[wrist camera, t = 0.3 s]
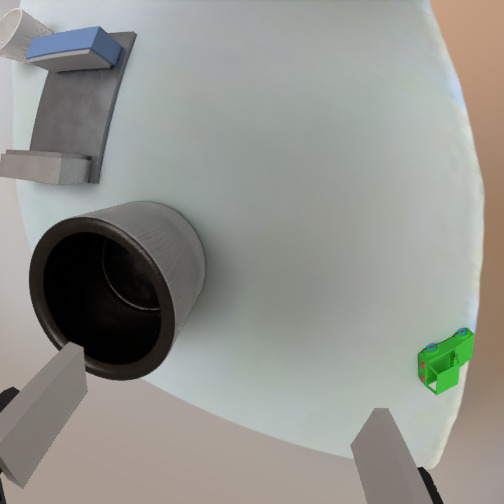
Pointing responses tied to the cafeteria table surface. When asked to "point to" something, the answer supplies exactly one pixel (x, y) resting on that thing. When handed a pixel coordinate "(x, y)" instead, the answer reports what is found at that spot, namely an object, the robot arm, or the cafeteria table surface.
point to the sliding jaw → (74, 50)
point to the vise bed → (80, 109)
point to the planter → (117, 285)
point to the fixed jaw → (45, 166)
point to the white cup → (19, 34)
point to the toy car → (445, 360)
